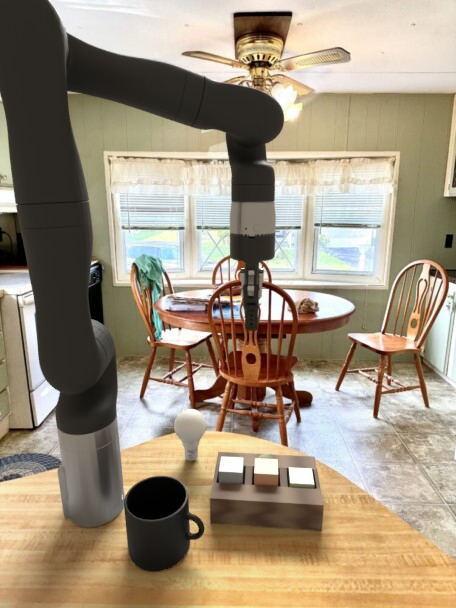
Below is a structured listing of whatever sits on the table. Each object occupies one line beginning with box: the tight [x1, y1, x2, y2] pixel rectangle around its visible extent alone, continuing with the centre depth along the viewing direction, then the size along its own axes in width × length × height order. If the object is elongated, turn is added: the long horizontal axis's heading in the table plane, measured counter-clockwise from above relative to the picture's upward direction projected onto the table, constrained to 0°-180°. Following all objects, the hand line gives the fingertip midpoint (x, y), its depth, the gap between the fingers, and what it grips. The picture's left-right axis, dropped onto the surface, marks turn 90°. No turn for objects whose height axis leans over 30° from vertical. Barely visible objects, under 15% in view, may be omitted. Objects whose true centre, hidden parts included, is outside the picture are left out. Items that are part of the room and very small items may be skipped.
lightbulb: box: [173, 408, 207, 462], centre depth 80 cm, size 6×6×11 cm
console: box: [209, 451, 325, 532], centre depth 70 cm, size 18×12×5 cm, turn 85°
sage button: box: [288, 467, 314, 488], centre depth 70 cm, size 4×4×4 cm
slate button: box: [219, 456, 244, 484], centre depth 70 cm, size 4×4×4 cm
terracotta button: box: [254, 458, 278, 486], centre depth 70 cm, size 4×4×4 cm
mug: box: [123, 475, 206, 573], centre depth 61 cm, size 9×12×9 cm
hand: (251, 329), depth 71 cm, fingers closed
